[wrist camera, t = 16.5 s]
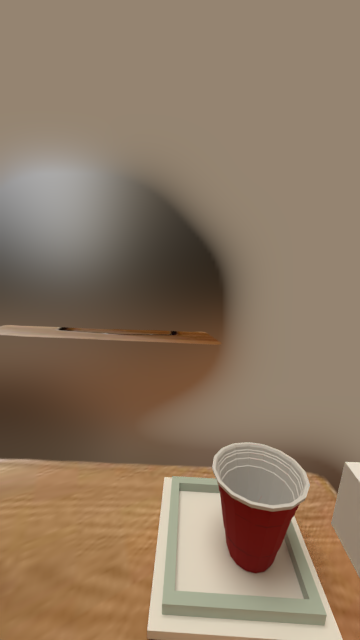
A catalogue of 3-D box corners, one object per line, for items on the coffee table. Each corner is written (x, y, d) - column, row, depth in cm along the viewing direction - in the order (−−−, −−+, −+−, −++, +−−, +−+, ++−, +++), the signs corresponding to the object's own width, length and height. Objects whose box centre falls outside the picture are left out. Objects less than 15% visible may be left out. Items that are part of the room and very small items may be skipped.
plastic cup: (278, 509, 41) (289, 438, 38) (311, 600, 30) (329, 511, 27) (204, 506, 41) (208, 435, 38) (210, 595, 30) (217, 506, 27)
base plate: (147, 638, 28) (147, 619, 27) (164, 483, 46) (164, 469, 45) (342, 652, 27) (347, 633, 26) (280, 489, 45) (282, 475, 45)
